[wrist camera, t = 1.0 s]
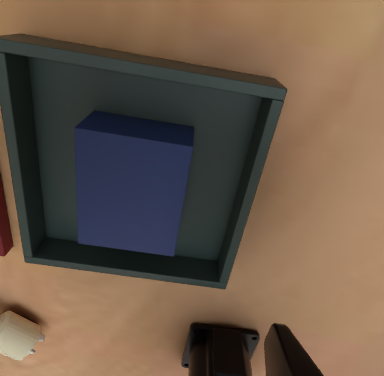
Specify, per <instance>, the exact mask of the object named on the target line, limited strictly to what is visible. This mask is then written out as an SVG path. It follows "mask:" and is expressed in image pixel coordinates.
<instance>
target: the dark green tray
mask: <svg viewBox="0 0 384 376" xmlns="http://www.w3.org/2000/svg"><path fill="white" fill-rule="evenodd" d="M286 93H287V88H285V87H284V86H283V85H282V84H281V83H280V82H278V81H277V80H276V79H274V78H269V77H263V76H257V75H252V74H246V73H240V72H235V71H229V70H224V69H218V68H212V67H207V66H201V65H195V64H190V63H184V62H178V61H173V60H167V59H161V58H156V57H150V56H145V55H139V54H133V53H128V52H122V51H116V50H111V49H105V48H99V47H94V46H88V45H82V44H77V43H71V42H66V41H60V40H54V39H49V38H43V37H37V36H32V35H26V34H13V35H3V36H0V105H1V112H2V118H3V125H4V131H5V137H6V144H7V150H8V157H9V163H10V170H11V176H12V183H13V189H14V196H15V202H16V209H17V215H18V221H19V228H20V234H21V241H22V247H23V254H24V260H25V262H26V263H33V264H41V265H48V266H56V267H63V268H70V269H78V270H85V271H93V272H100V273H108V274H115V275H123V276H130V277H137V278H145V279H152V280H160V281H167V282H175V283H182V284H190V285H197V286H204V287H212V288H219V289H226V286H227V283H228V280H229V276H230V273H231V270H232V267H233V264H234V260H235V257H236V254H237V251H238V247H239V244H240V241H241V238H242V235H243V231H244V228H245V225H246V222H247V219H248V215H249V212H250V209H251V206H252V202H253V199H254V196H255V193H256V190H257V186H258V183H259V180H260V177H261V174H262V170H263V167H264V164H265V161H266V158H267V154H268V151H269V148H270V145H271V141H272V138H273V135H274V132H275V129H276V125H277V122H278V119H279V116H280V113H281V109H282V106H283V103H284V99H285V96H286ZM94 110H95V111H101V112H107V113H114V114H120V115H126V116H132V117H138V118H144V119H150V120H156V121H162V122H168V123H174V124H180V125H186V126H192V127H194V145H193V152H192V158H191V164H190V169H189V175H188V181H187V187H186V192H185V198H184V204H183V209H182V215H181V221H180V226H179V232H178V238H177V243H176V249H175V255H174V257H173V256H166V255H159V254H152V253H144V252H137V251H130V250H123V249H116V248H108V247H101V246H94V245H87V244H80V243H78V227H77V198H76V169H75V141H74V127H76V126H77V125H78V124H79V123H80V122H81V121H82V120H83V119H85V118H86V117H87V116H88V115H89V114H90V113H91V112H92V111H94Z"/></svg>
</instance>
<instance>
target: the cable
mask: <svg viewBox="0 0 384 376" xmlns="http://www.w3.org/2000/svg"><path fill="white" fill-rule="evenodd" d="M40 332H41V327H40V325H38V324H36V323H34V322H32V321H30V320H28V319H26V318H24V317H22V316H20V315H18V314H16V313H14V312H12V311H6V312H4V313H2V314H0V353H1V354H3V355H5V356H8V357H10V358H13V359H15V360H17V361H19V360H22V359H23V358H25V357H26V356H27V355H28V354H33V353H35V350H33V347H34V346H35V344H36V342H37V340H38V341H42V342H43V341H44V339H45V336H44V335H43V334H42V333H40Z"/></svg>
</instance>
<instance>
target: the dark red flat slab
mask: <svg viewBox="0 0 384 376" xmlns="http://www.w3.org/2000/svg"><path fill="white" fill-rule="evenodd" d="M12 247H13V244H12V238H11V232H10V227H9V221H8V215H7V210H6V204H5V198H4V192H3V187H2V181H1V175H0V256H5V255H6V254H7V253H8V252H9V251H10V249H11V248H12Z"/></svg>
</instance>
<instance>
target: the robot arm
mask: <svg viewBox="0 0 384 376" xmlns="http://www.w3.org/2000/svg"><path fill="white" fill-rule="evenodd" d="M259 339H260V337H259V333H258V332H257V331H251V330H243V329H235V328H227V327H219V326H211V325H203V324H192V325H191V326H190V330H189V334H188V338H187V342H186V346H185V350H184V354H183V358H182V367H184V368H189V376H252V369H251V362H250V359H251V357H252V355H253V353H254V350H255V348H256V346H257V344H258V341H259ZM264 351H265V366H266V376H324V375H323V374H322V373H321V371H320V370H319V369H318V367H317V366H316V364H315V363H314V362H313V360H312V359H311V358H310V356H309V355H308V354H307V352H306V351H305V349H304V348H303V347H302V345H301V344H300V343H299V341H298V340H297V339H296V337H295V336H294V334H293V333H292V332H291V330H290V329H289V328H288V327H287V326H286V325H284V324H277V323H274V324H272V326H271V328H270V330H269V332H268V334H267V336H266V338H265V342H264Z"/></svg>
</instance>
